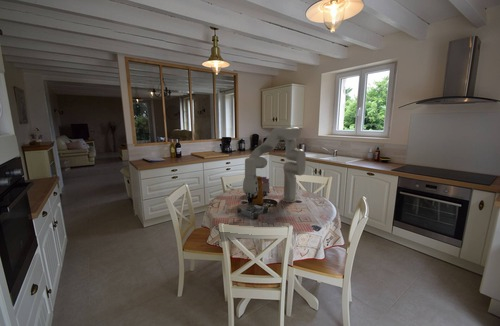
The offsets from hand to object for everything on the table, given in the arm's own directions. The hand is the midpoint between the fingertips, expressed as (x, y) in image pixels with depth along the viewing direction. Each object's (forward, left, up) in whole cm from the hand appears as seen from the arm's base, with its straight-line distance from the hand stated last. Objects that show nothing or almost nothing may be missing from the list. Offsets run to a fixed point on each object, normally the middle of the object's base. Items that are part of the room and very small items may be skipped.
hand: (250, 202), depth 152 cm
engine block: (0, 0, -8) cm, 8 cm away
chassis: (-3, 0, -9) cm, 9 cm away
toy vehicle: (-37, -18, -9) cm, 42 cm away
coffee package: (-20, -9, -9) cm, 24 cm away
